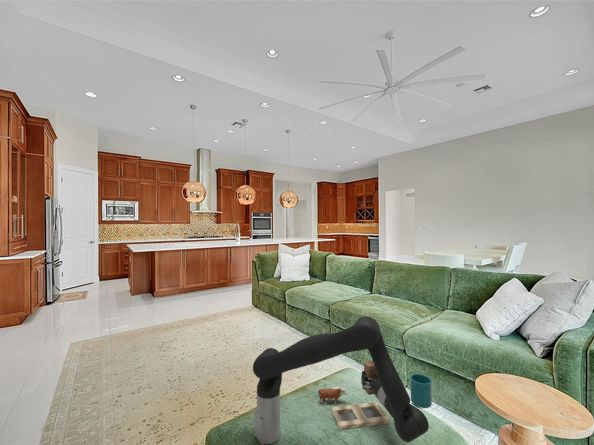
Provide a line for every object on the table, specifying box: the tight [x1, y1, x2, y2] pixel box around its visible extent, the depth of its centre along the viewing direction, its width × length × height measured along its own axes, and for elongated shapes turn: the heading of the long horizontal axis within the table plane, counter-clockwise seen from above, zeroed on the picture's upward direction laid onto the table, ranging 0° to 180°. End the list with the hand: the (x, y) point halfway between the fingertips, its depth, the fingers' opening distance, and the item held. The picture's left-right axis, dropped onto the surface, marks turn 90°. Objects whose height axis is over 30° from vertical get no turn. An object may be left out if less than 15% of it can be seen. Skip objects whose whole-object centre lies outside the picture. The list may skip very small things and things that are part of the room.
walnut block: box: [363, 360, 378, 396], centre depth 121 cm, size 4×4×12 cm
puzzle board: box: [330, 401, 391, 431], centre depth 120 cm, size 22×12×2 cm, turn 100°
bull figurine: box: [317, 386, 348, 405], centre depth 130 cm, size 4×13×8 cm, turn 89°
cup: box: [410, 373, 433, 409], centre depth 132 cm, size 9×12×11 cm
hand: (368, 372), depth 124 cm, fingers closed on walnut block, 4 cm apart
